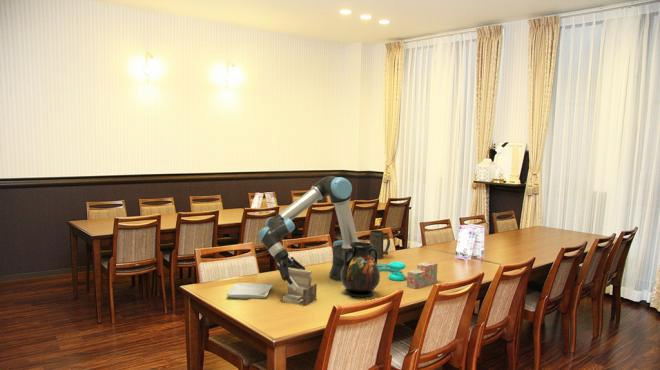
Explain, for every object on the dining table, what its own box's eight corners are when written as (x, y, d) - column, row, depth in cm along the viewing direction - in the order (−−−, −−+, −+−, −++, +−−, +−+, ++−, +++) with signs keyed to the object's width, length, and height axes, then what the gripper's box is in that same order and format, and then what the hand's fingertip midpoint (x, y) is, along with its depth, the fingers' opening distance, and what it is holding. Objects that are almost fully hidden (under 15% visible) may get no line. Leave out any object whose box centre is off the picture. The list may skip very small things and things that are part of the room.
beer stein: (366, 258, 354) (369, 231, 353) (367, 255, 365) (370, 228, 363) (387, 261, 352) (391, 234, 350) (388, 258, 363) (391, 231, 361)
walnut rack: (291, 296, 263) (292, 279, 262) (317, 301, 256) (317, 284, 256) (279, 302, 252) (279, 285, 251) (305, 307, 245) (305, 290, 244)
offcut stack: (287, 298, 255) (287, 293, 255) (304, 302, 251) (304, 297, 251) (282, 301, 251) (282, 296, 251) (299, 304, 247) (299, 299, 247)
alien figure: (402, 275, 315) (396, 267, 335) (402, 271, 315) (397, 264, 335) (370, 274, 314) (367, 266, 334) (371, 271, 314) (367, 263, 334)
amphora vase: (346, 301, 257) (348, 248, 255) (334, 289, 278) (336, 240, 275) (385, 299, 263) (387, 247, 261) (370, 287, 284) (372, 239, 281)
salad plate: (235, 288, 275) (235, 282, 275) (273, 289, 275) (273, 283, 274) (225, 300, 254) (225, 293, 254) (267, 302, 253) (267, 295, 253)
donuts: (403, 265, 297) (387, 263, 300) (402, 282, 297) (386, 280, 301) (407, 262, 306) (391, 260, 309) (406, 278, 307) (390, 276, 310)
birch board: (290, 295, 261) (291, 267, 259) (310, 299, 255) (311, 271, 254) (287, 297, 258) (288, 269, 256) (307, 301, 252) (308, 272, 251)
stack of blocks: (415, 289, 283) (416, 268, 282) (406, 287, 288) (407, 266, 287) (436, 283, 298) (437, 263, 297) (428, 280, 303) (429, 261, 301)
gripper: (286, 253, 273) (309, 283, 267) (261, 262, 251) (285, 295, 245) (295, 244, 270) (318, 275, 265) (270, 253, 248) (295, 287, 242)
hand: (303, 285), depth 255 cm, fingers open, 13 cm apart
